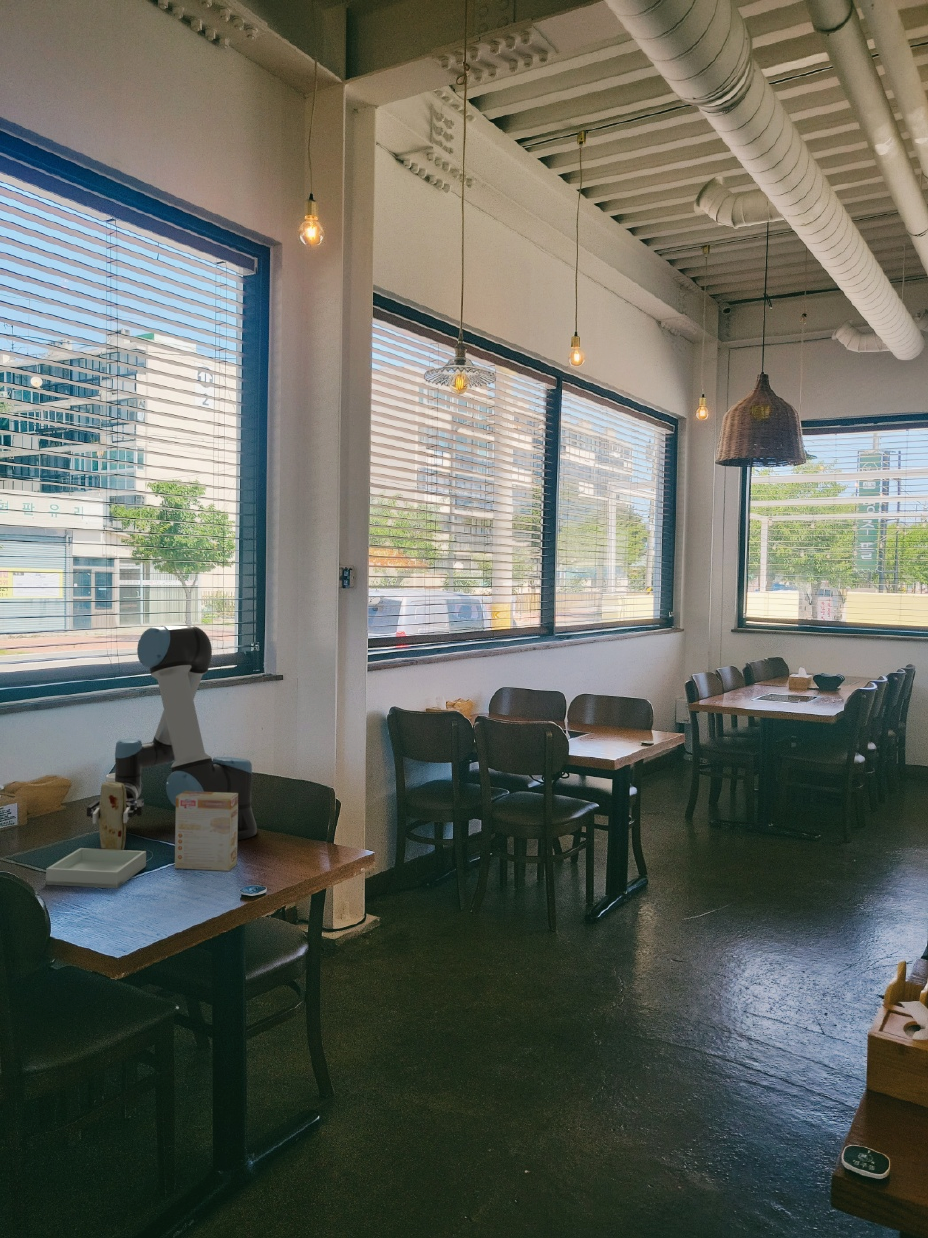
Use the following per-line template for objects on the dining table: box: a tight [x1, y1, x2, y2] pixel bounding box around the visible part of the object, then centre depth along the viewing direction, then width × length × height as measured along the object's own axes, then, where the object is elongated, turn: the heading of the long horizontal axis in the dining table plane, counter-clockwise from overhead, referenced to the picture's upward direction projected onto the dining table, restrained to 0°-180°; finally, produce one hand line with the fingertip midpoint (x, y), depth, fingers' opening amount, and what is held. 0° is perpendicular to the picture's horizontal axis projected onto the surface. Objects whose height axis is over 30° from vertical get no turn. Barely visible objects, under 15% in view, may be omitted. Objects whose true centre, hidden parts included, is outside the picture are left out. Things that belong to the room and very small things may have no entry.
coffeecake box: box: [174, 791, 238, 872], centre depth 250 cm, size 15×7×20 cm, turn 86°
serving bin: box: [45, 847, 147, 889], centre depth 240 cm, size 18×18×4 cm
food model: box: [98, 781, 127, 850], centre depth 259 cm, size 10×7×20 cm
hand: (109, 818), depth 254 cm, fingers closed on food model, 7 cm apart
